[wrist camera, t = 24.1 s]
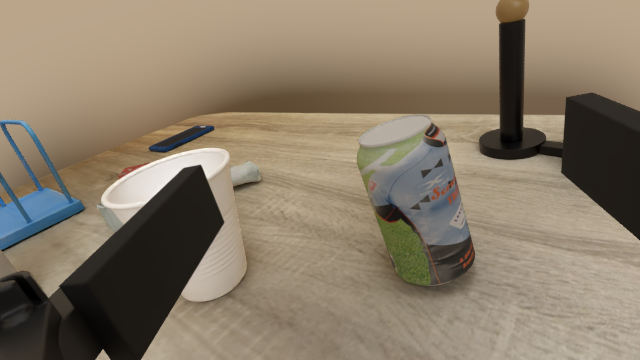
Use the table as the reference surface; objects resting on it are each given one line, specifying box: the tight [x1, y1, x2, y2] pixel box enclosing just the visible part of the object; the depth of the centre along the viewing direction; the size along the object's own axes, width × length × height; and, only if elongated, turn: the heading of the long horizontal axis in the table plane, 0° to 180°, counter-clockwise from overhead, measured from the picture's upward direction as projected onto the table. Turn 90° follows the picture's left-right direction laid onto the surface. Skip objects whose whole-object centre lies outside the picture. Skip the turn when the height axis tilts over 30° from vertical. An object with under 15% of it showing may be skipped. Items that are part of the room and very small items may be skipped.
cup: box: [101, 148, 247, 302], centre depth 30 cm, size 10×10×11 cm
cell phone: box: [149, 126, 214, 152], centre depth 83 cm, size 7×14×1 cm, turn 143°
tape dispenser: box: [97, 161, 261, 232], centre depth 49 cm, size 18×5×20 cm
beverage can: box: [357, 115, 475, 286], centre depth 26 cm, size 6×7×12 cm
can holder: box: [479, 0, 563, 159], centre depth 34 cm, size 13×20×17 cm, turn 59°
